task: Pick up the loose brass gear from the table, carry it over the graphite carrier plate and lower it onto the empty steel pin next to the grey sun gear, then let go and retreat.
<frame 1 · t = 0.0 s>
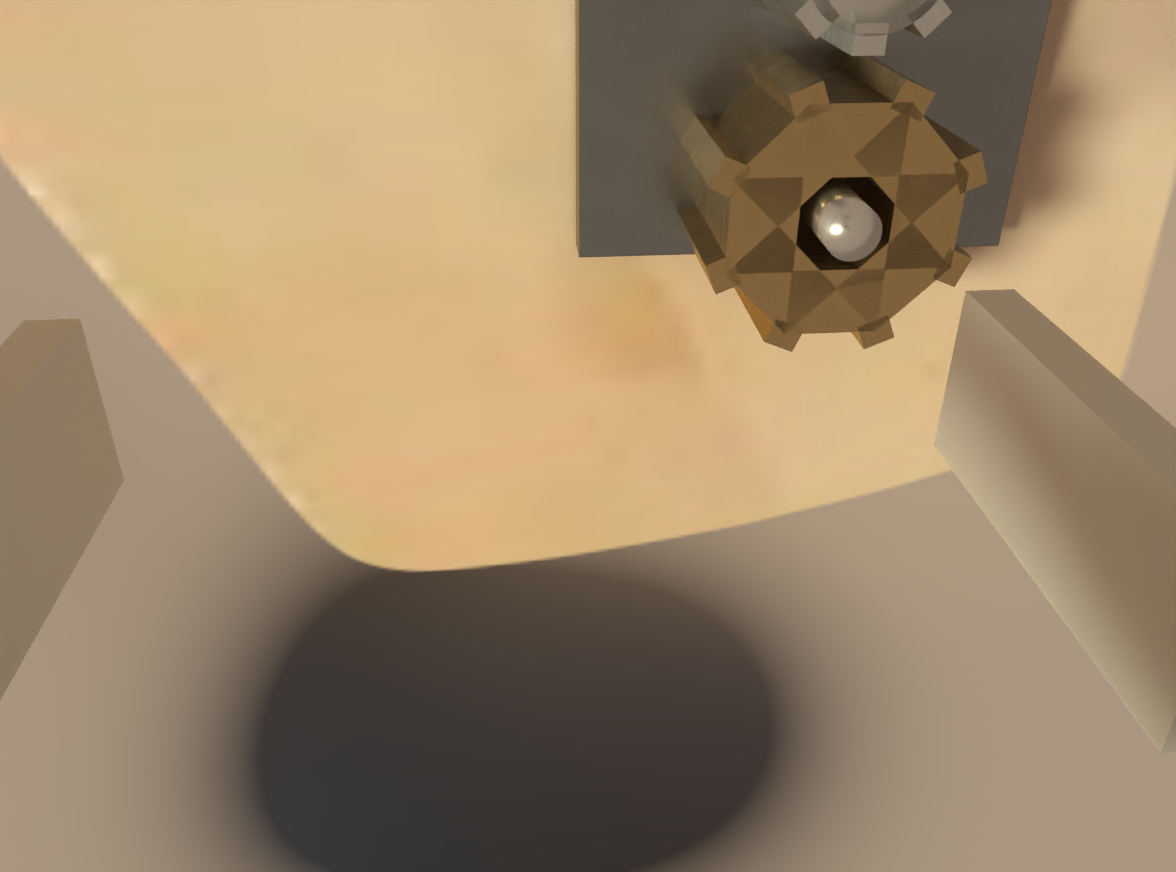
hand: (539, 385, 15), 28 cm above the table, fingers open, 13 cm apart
seated gear: (800, 176, 41), resting on carrier
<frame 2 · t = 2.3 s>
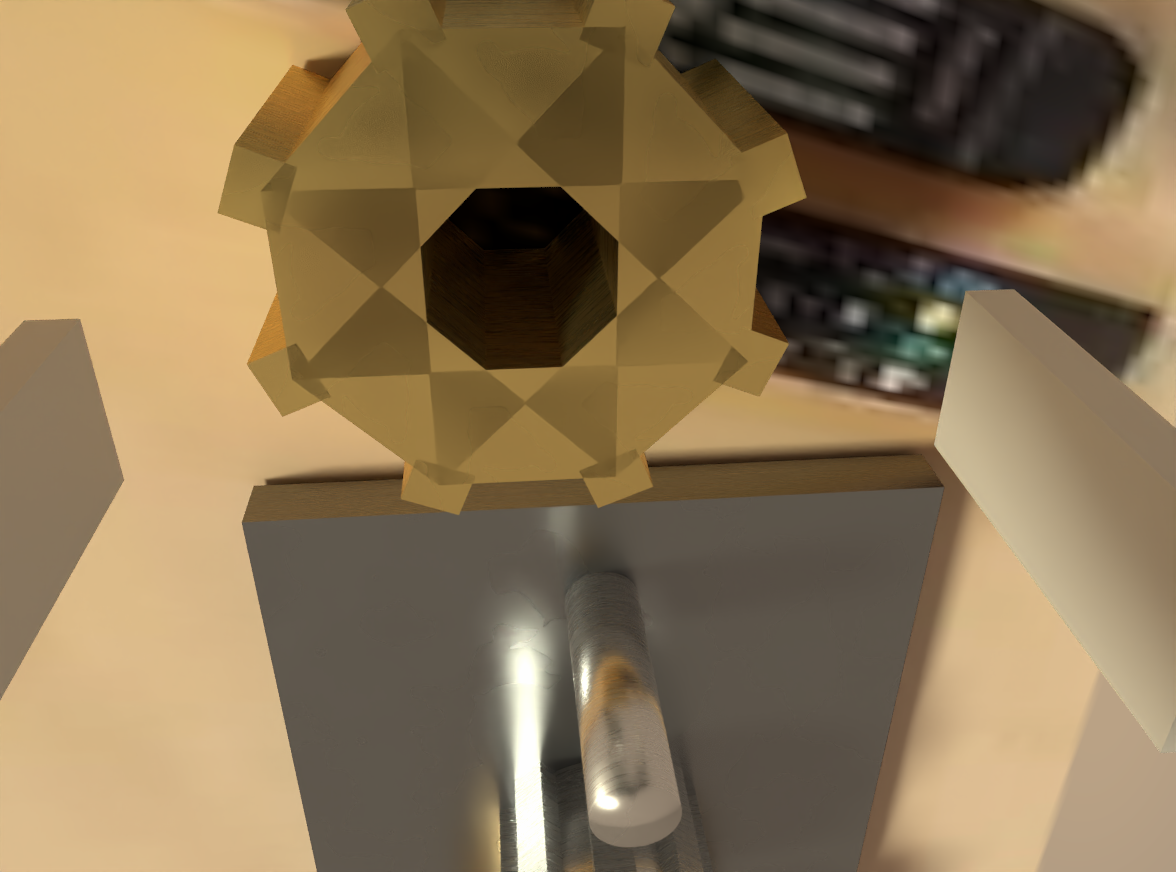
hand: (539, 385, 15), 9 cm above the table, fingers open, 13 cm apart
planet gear: (511, 177, 23), on the table
carrier: (593, 772, 34), on the table
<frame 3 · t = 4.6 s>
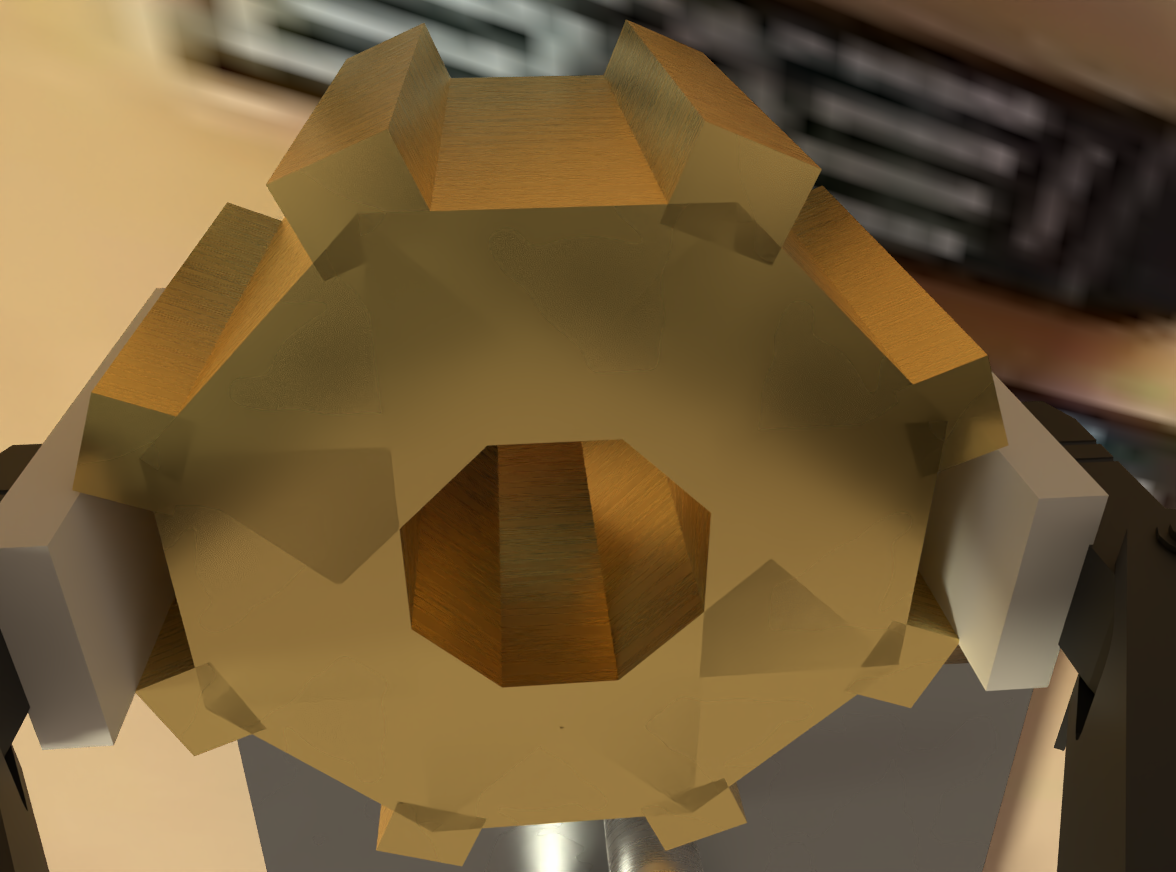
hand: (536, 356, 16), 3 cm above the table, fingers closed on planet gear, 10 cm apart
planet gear: (536, 344, 17), point 3 cm above the table, touching gripper
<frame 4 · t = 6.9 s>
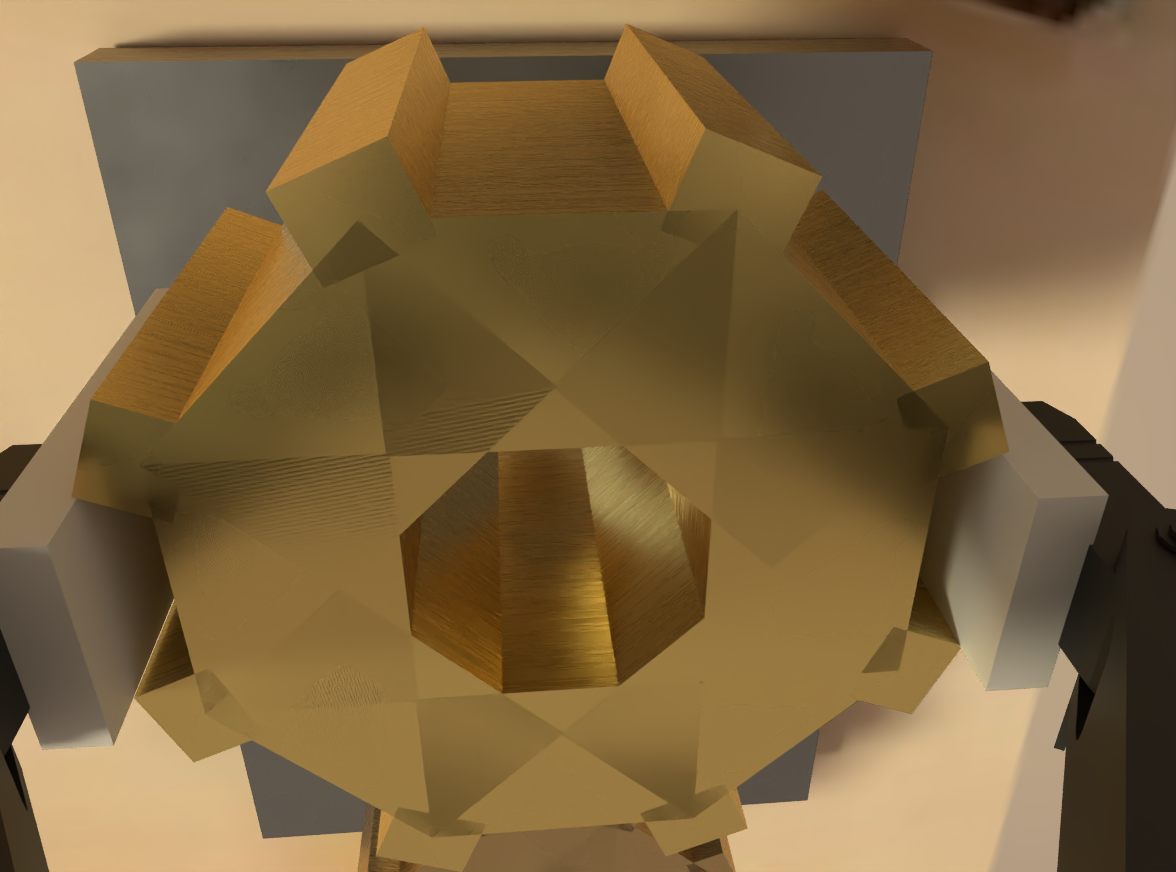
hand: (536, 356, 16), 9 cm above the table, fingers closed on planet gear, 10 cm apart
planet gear: (536, 348, 17), point 9 cm above the table, touching gripper
seated gear: (538, 751, 32), resting on carrier
carrier: (529, 490, 29), on the table
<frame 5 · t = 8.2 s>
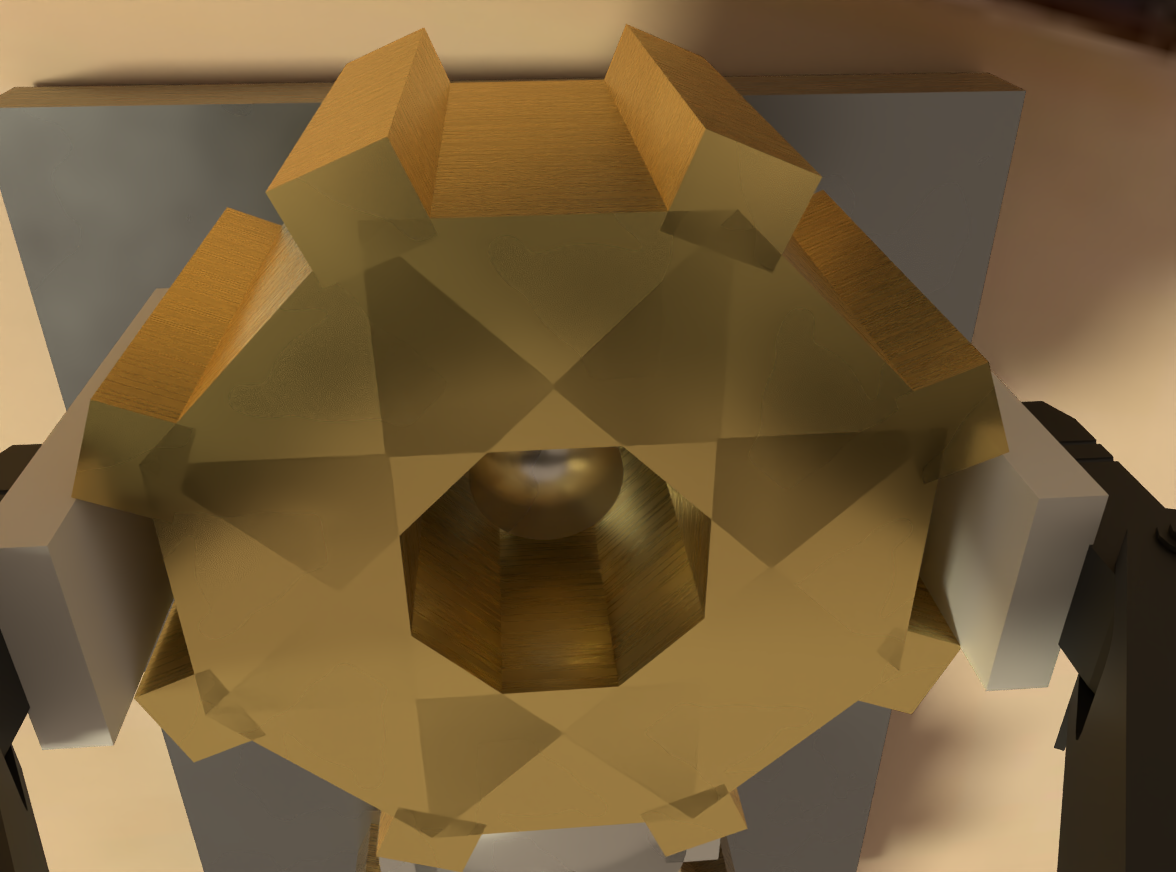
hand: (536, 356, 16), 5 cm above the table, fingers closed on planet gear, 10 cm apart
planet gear: (536, 348, 17), point 5 cm above the table, touching gripper
seated gear: (544, 871, 28), resting on carrier
carrier: (534, 586, 25), on the table
when the fingers open (4 cm above the table, at t = 9.0 s): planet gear drops 2 cm, resting on carrier.
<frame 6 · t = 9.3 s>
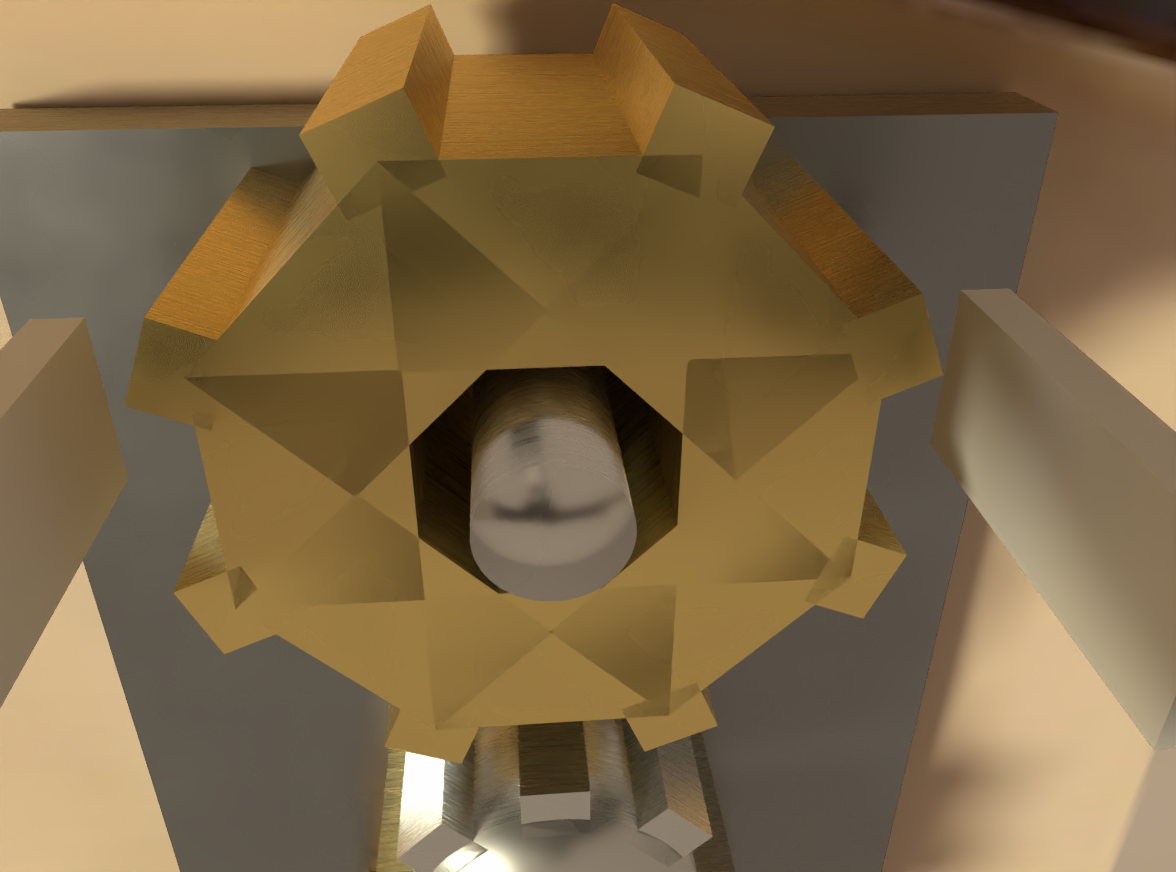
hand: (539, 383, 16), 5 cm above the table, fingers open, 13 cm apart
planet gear: (530, 301, 18), point 2 cm above the table, touching carrier
carrier: (538, 623, 24), on the table
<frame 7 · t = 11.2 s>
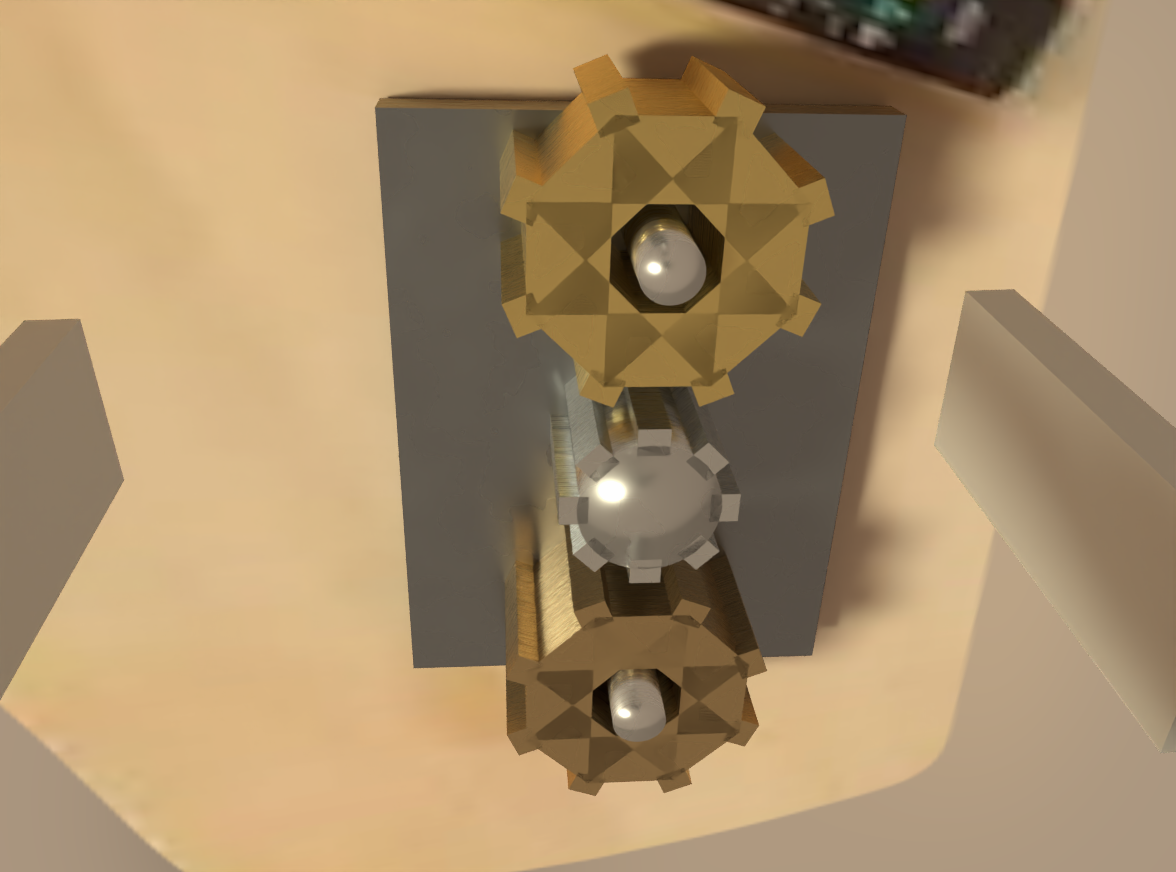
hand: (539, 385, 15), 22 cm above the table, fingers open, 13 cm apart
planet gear: (641, 203, 36), point 2 cm above the table, touching carrier
seated gear: (619, 604, 44), resting on carrier
carrier: (624, 407, 41), on the table
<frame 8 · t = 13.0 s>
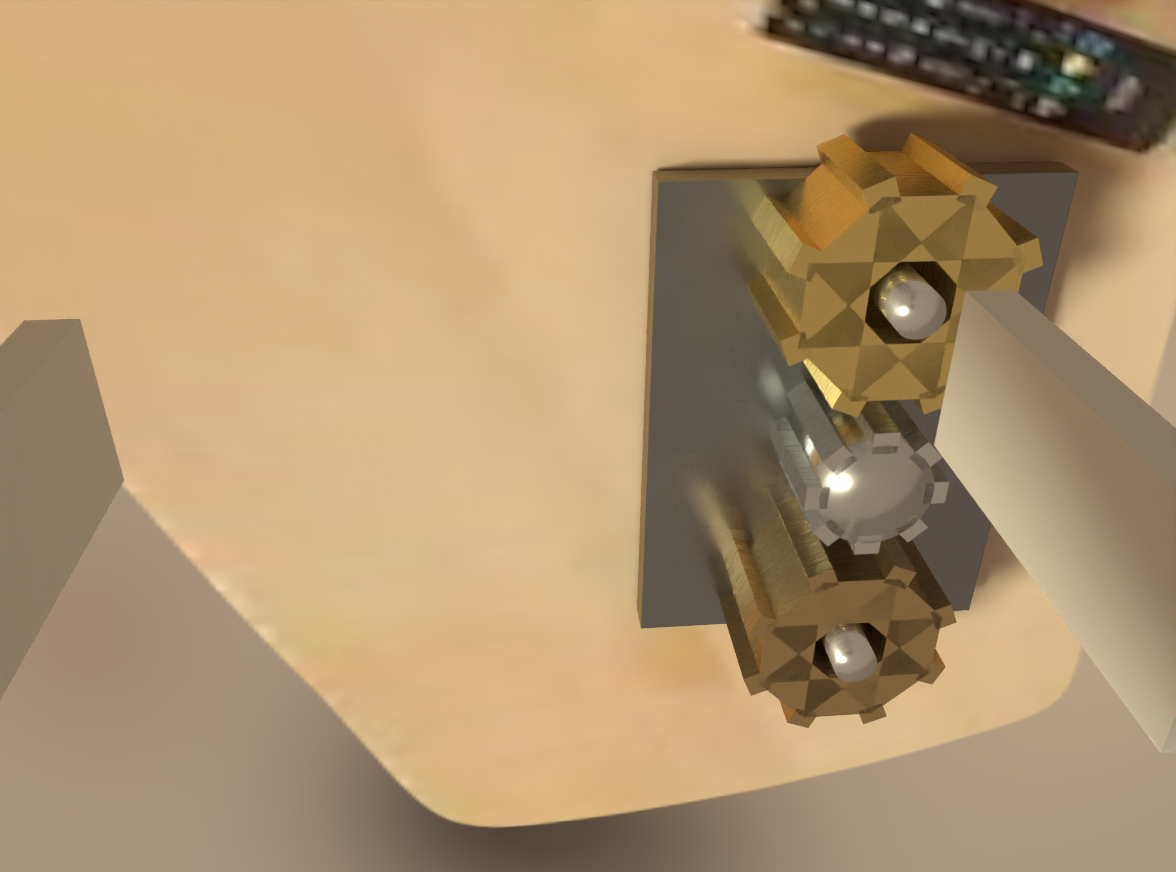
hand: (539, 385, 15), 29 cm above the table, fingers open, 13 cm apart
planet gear: (860, 248, 44), point 2 cm above the table, touching carrier
seated gear: (813, 571, 53), resting on carrier
carrier: (825, 409, 50), on the table
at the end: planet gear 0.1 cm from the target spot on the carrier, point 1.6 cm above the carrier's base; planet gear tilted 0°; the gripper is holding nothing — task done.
